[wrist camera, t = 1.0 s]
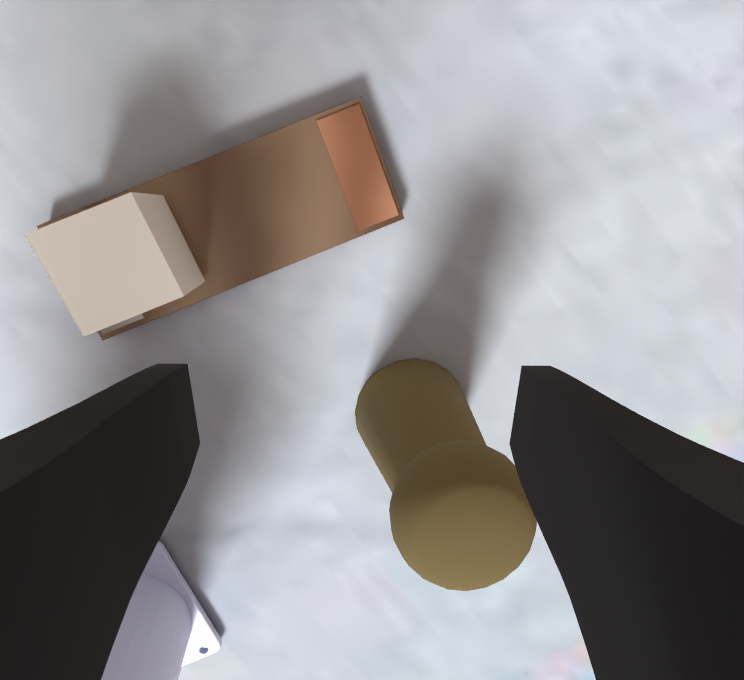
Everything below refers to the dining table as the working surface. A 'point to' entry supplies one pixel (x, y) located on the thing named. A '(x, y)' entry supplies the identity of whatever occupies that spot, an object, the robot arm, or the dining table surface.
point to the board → (273, 202)
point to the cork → (443, 478)
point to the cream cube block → (116, 260)
